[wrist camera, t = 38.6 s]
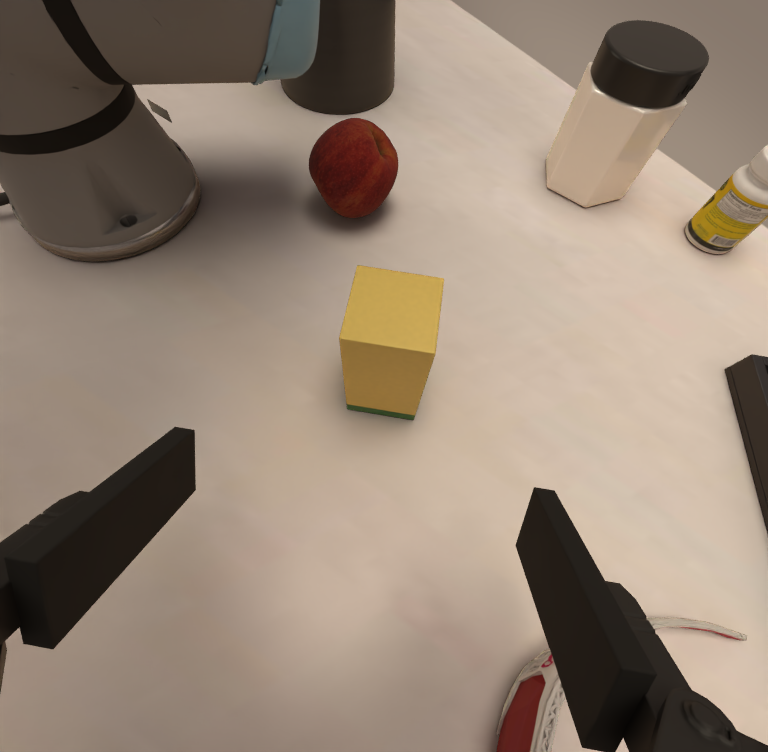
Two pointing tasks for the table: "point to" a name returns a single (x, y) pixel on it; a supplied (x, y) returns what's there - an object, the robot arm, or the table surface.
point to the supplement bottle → (733, 209)
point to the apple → (354, 167)
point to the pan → (753, 417)
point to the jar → (623, 110)
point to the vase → (349, 58)
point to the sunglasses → (556, 696)
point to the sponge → (389, 340)
